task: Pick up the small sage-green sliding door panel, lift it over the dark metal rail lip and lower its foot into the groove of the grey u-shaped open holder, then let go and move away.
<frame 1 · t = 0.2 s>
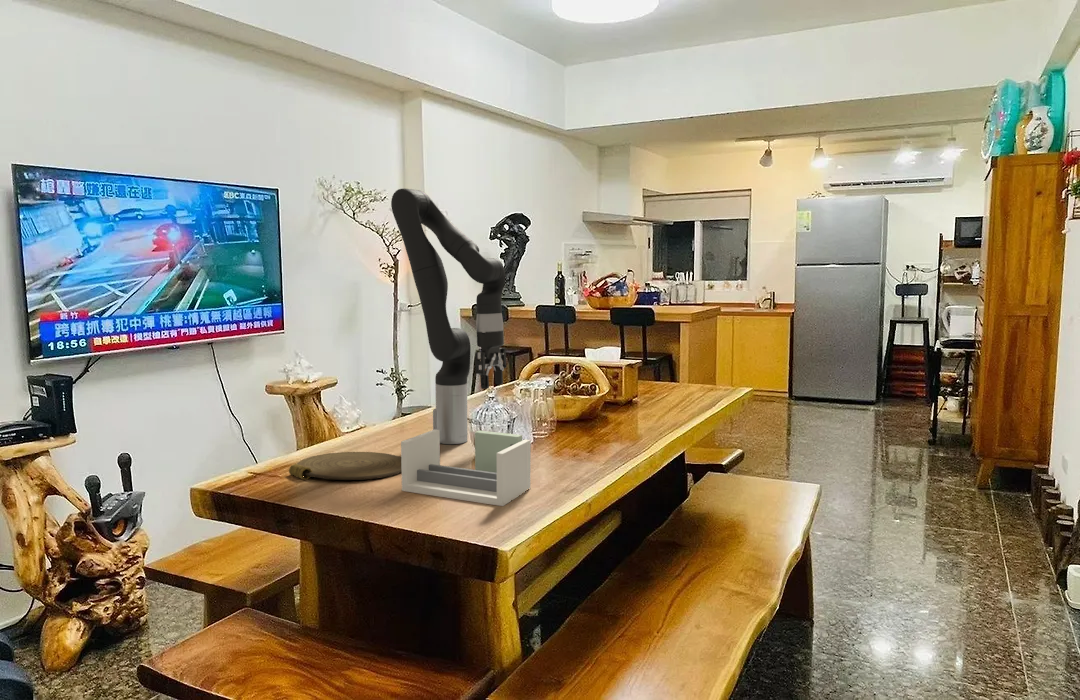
hand: (492, 386, 211), 17 cm above the table, tool pointing down, fingers open, 8 cm apart
grey u-shaped open holder: (466, 489, 172), on the table
decorative disc: (351, 470, 190), on the table
door panel: (498, 472, 186), on the table
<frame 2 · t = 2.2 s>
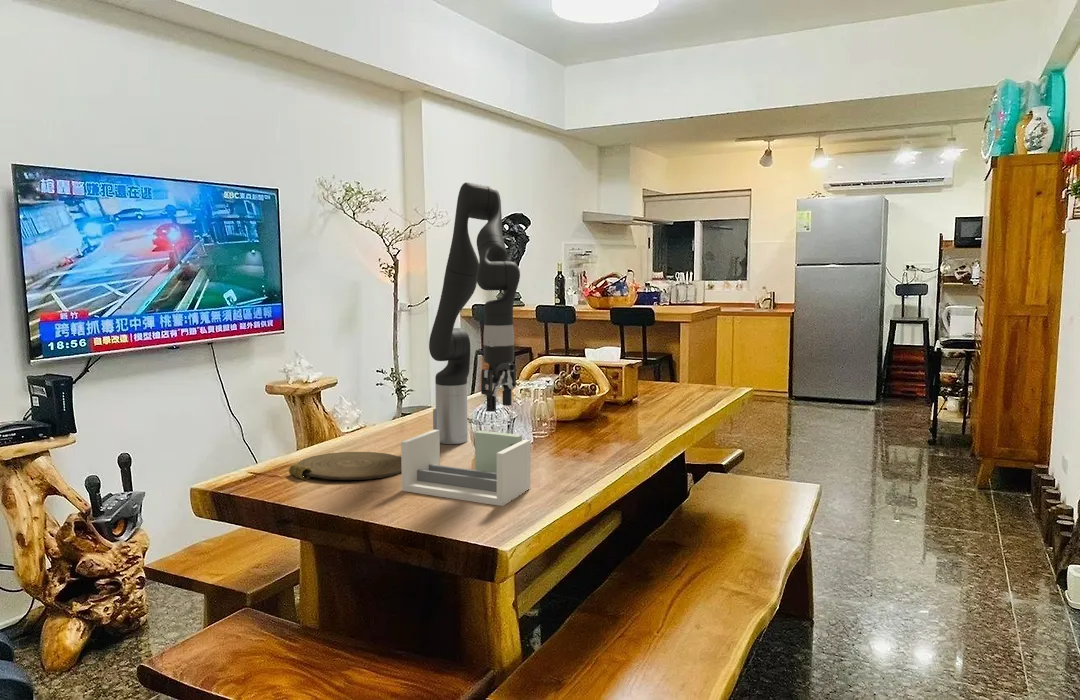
hand: (499, 408, 184), 16 cm above the table, tool pointing down, fingers open, 8 cm apart
nothing on the table moved.
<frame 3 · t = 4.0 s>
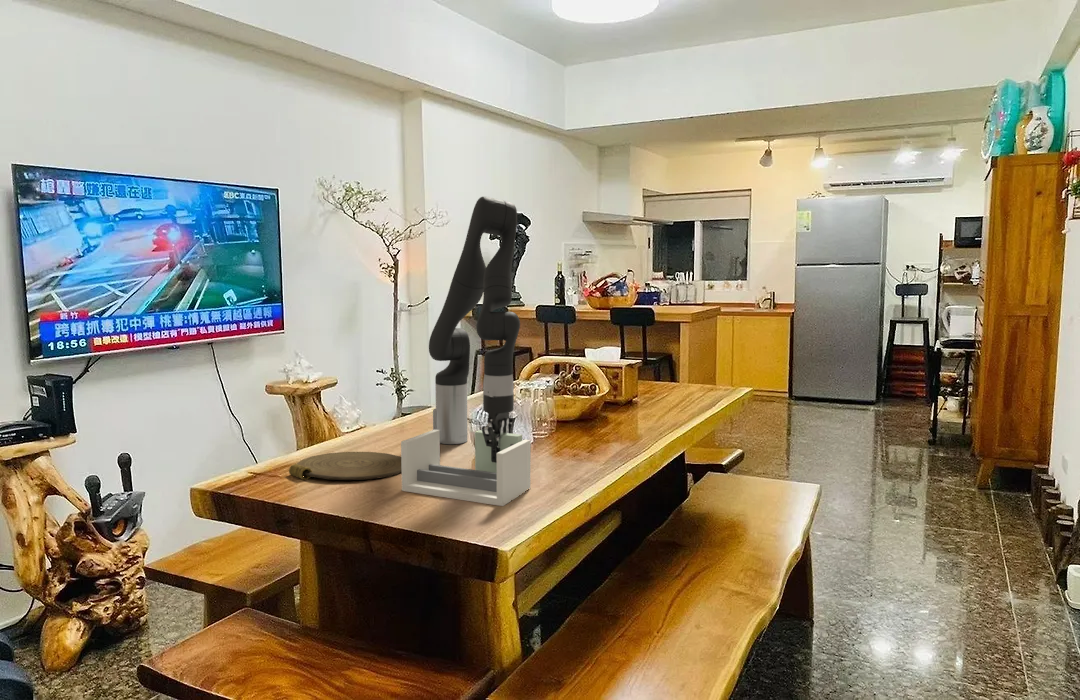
hand: (498, 460, 186), 3 cm above the table, tool pointing down, fingers closed on door panel, 2 cm apart
door panel: (498, 472, 186), on the table, touching gripper
everything else where it was.
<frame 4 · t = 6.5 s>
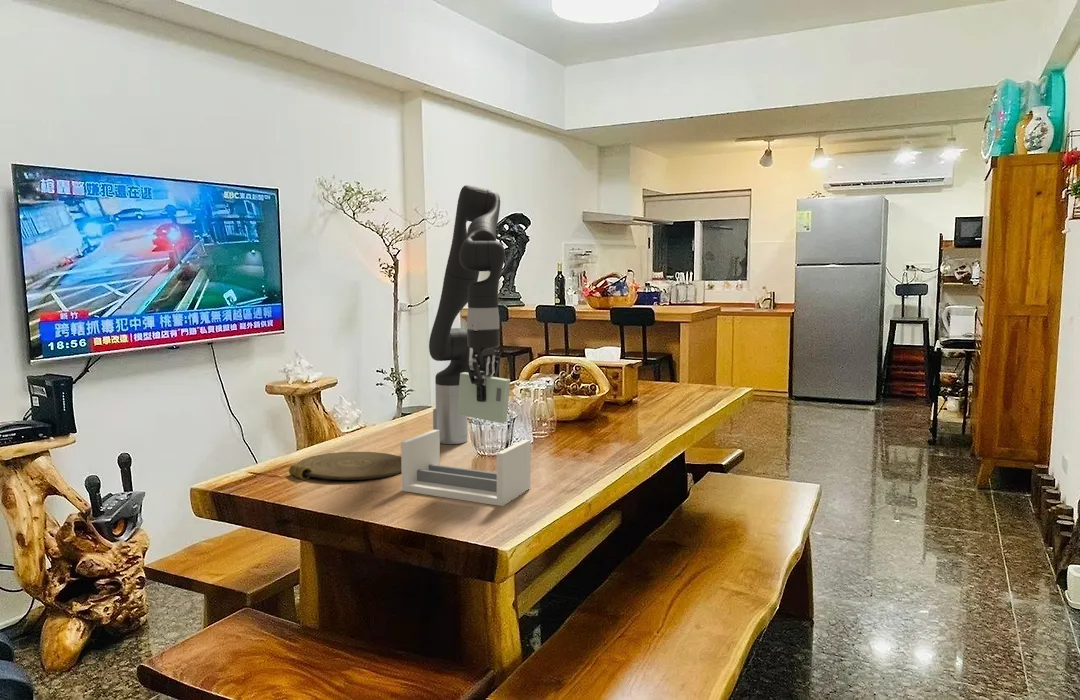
hand: (484, 400, 175), 20 cm above the table, tool pointing down, fingers closed on door panel
door panel: (481, 417, 176), point 16 cm above the table, tilted 5°, touching gripper
everything else where it was.
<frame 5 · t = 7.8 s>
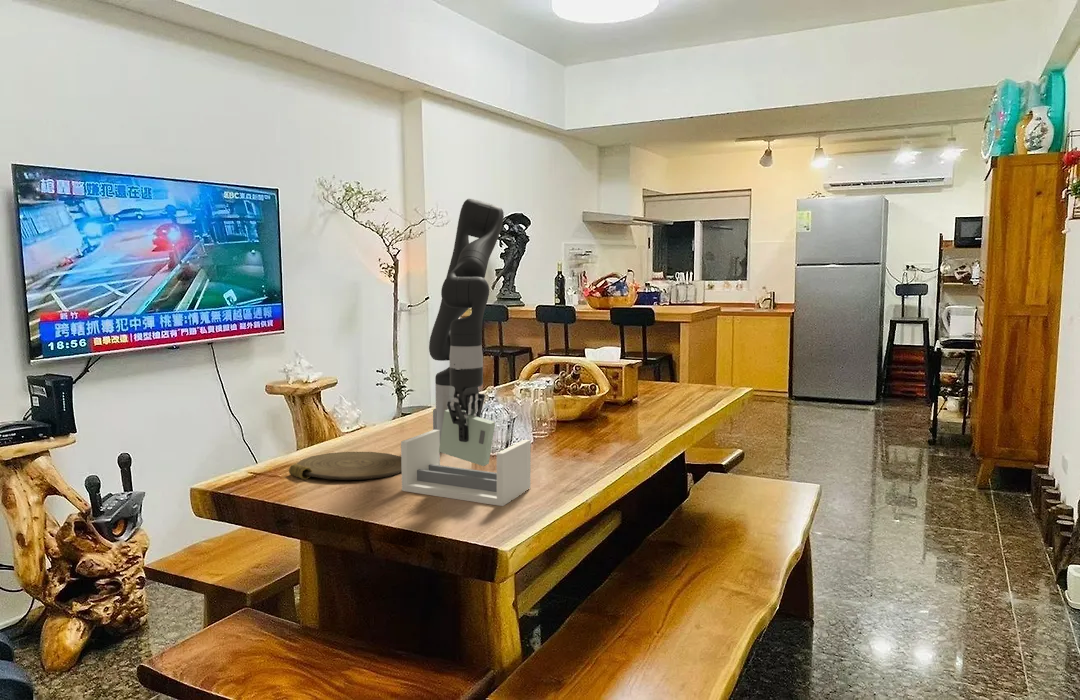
hand: (466, 439, 170), 12 cm above the table, tool pointing down, fingers closed on door panel
door panel: (463, 457, 171), point 7 cm above the table, tilted 10°, touching gripper
everything else where it was.
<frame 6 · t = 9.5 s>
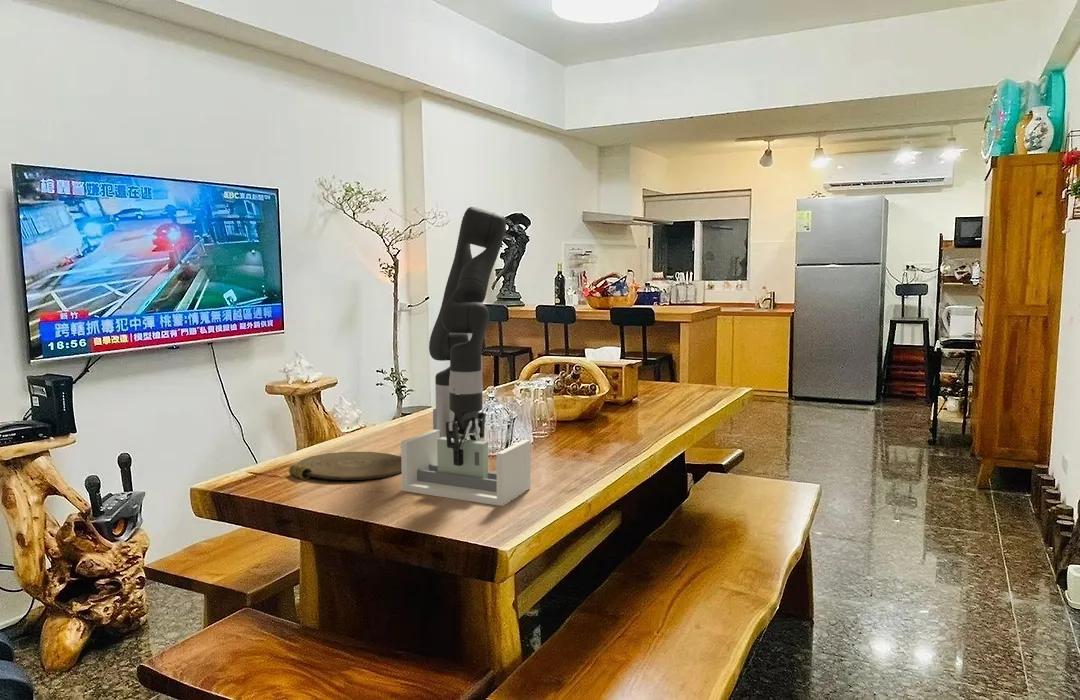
hand: (466, 461, 171), 7 cm above the table, tool pointing down, fingers open, 6 cm apart
door panel: (462, 482, 172), point 1 cm above the table, touching grey u-shaped open holder
everything else where it was.
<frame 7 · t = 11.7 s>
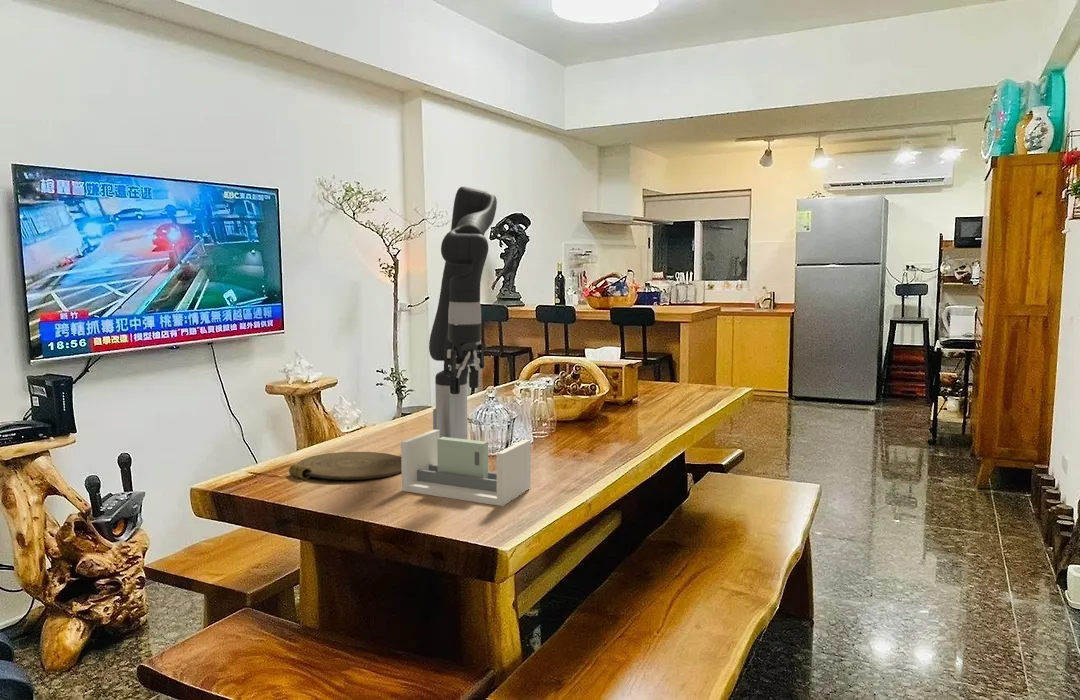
hand: (464, 390, 173), 22 cm above the table, tool pointing down, fingers open, 8 cm apart
nothing on the table moved.
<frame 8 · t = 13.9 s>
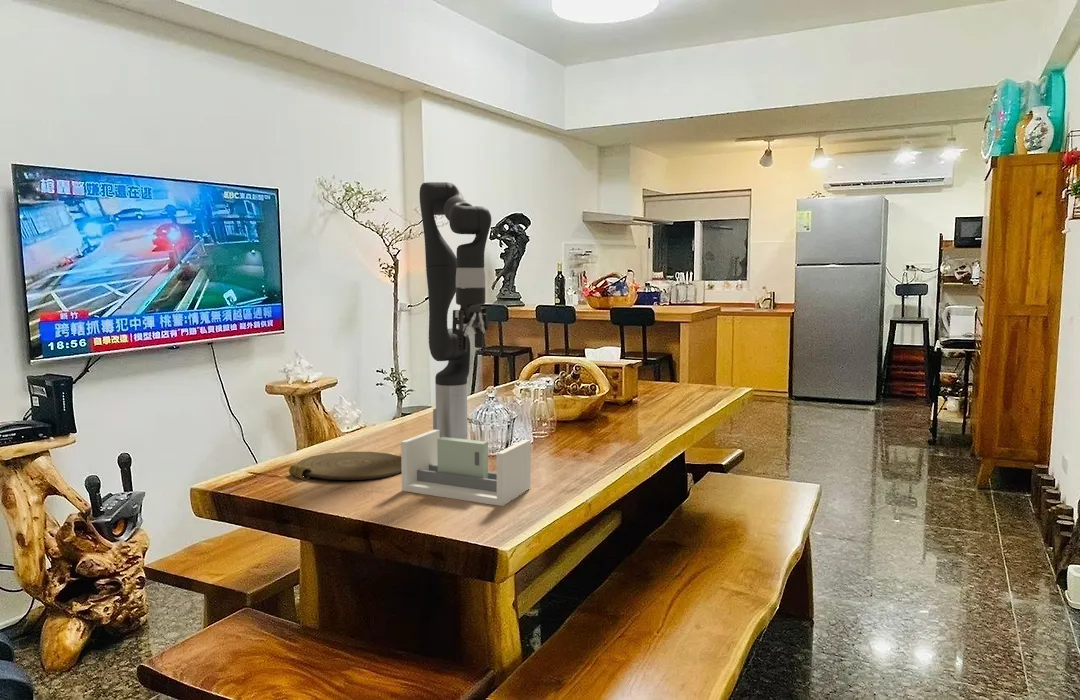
hand: (470, 349, 191), 30 cm above the table, tool pointing down, fingers open, 8 cm apart
nothing on the table moved.
at the end: door panel inside the target area on the grey u-shaped open holder (1.0 cm from its centre), point 1.5 cm above the grey u-shaped open holder's base; door panel tilted 0°; the gripper is holding nothing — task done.
